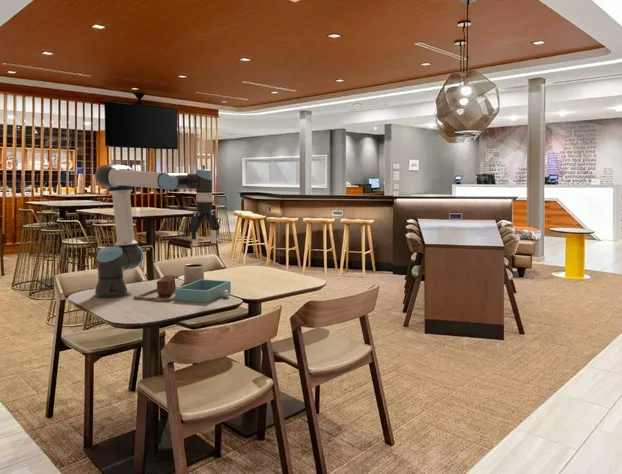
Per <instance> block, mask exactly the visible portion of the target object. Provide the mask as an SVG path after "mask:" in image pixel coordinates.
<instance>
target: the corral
mask: <svg viewBox="0 0 622 474" xmlns="http://www.w3.org/2000/svg"><path fill="white" fill-rule="evenodd" d="M179 287H180V286H178V287H177V286H176V288H179ZM154 293H157V287H156V288H154V289H151V290H148V291H145V292H142V293H139V294H137V295H134V296H133V300H140V301H141V300H142V301H155V302H167V303H170V302H173V301H175V300H174V299H175V295H173V296H170V297H169V298H166V297H165V298H164V297H154V296H153V297H152V296H148V295H150V294H154ZM172 300H173V301H172Z"/></svg>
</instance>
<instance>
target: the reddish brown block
mask: <svg viewBox="0 0 622 474" xmlns="http://www.w3.org/2000/svg"><path fill="white" fill-rule="evenodd" d="M176 287H177V286H176V279H175V276H173V274H172V275H171V274H170V275H164V276H162V277H161V278H160V279H159V280H157V281H156V288H157V292H156V294H158V297H173V294H175V289H176Z"/></svg>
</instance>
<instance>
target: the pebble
mask: <svg viewBox="0 0 622 474" xmlns="http://www.w3.org/2000/svg"><path fill="white" fill-rule="evenodd" d="M230 293H231V292H229V291H228V290H224V291H223V292H222V297H224V298H228V297H230Z"/></svg>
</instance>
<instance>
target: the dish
mask: <svg viewBox="0 0 622 474" xmlns="http://www.w3.org/2000/svg"><path fill="white" fill-rule="evenodd" d="M178 287H179V288H176V289H175V292H174V296H175V300H174V301H181V300H183V301H184V302H193V301H194V302H195V303H210V302H212V301H214V300H216V299H218V298H220V297H223V295H222V292H223V291H224V290H228V291H229V293H231V292H232V288H231V281H229V280H219V279H218V280H216V279H205V278H204V279H200V280H197V281H195V282H192V283H189V284H187V283H186V284H185V285H182V286H178Z"/></svg>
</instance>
